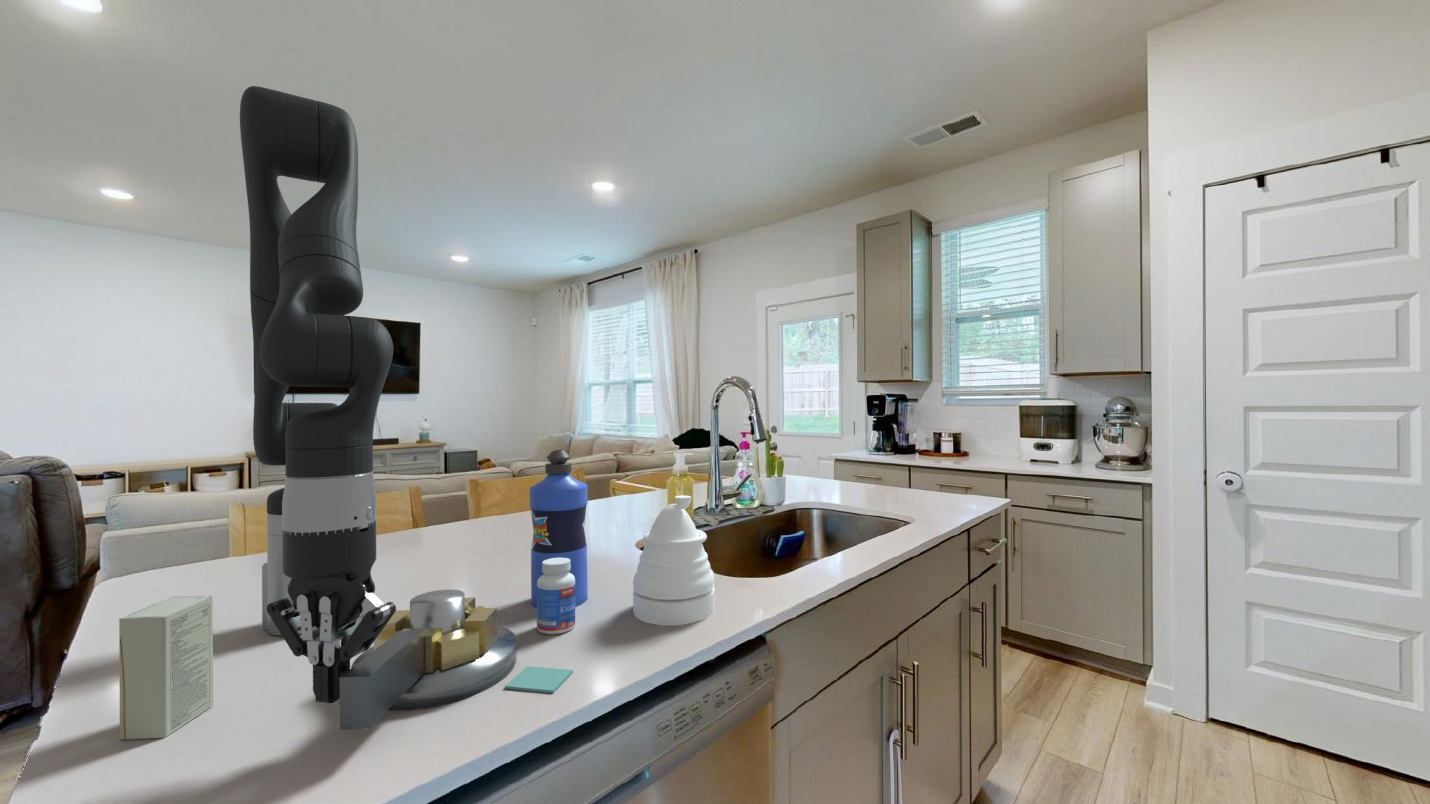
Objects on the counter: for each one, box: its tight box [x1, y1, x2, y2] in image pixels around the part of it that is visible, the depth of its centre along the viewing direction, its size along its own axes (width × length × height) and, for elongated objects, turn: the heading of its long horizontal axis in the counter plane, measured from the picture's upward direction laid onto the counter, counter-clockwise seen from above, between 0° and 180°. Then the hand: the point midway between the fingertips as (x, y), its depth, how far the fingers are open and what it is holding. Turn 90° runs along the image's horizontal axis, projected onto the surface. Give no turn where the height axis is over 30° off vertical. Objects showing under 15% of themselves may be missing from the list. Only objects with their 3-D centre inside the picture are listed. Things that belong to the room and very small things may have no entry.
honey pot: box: [632, 494, 716, 626], centre depth 89 cm, size 13×13×18 cm
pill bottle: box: [536, 558, 576, 635], centre depth 82 cm, size 6×5×10 cm
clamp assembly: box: [339, 596, 498, 731], centre depth 64 cm, size 24×13×5 cm, turn 3°
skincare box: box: [118, 595, 214, 741], centre depth 58 cm, size 6×4×12 cm
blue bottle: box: [528, 449, 589, 609], centre depth 94 cm, size 9×9×25 cm
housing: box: [350, 589, 517, 712], centre depth 69 cm, size 18×18×9 cm
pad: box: [504, 665, 574, 694], centre depth 67 cm, size 6×5×1 cm
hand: (331, 699), depth 55 cm, fingers closed
